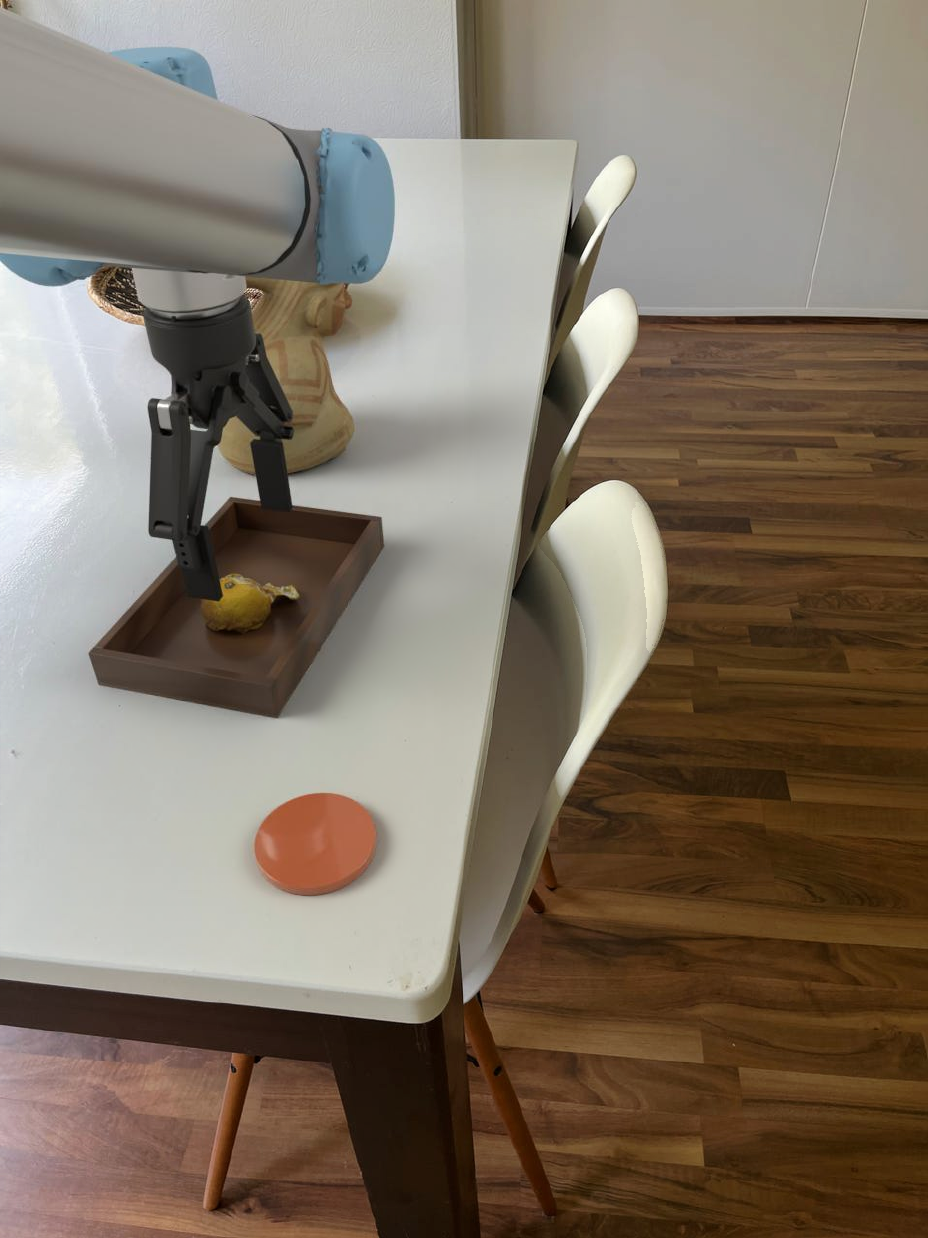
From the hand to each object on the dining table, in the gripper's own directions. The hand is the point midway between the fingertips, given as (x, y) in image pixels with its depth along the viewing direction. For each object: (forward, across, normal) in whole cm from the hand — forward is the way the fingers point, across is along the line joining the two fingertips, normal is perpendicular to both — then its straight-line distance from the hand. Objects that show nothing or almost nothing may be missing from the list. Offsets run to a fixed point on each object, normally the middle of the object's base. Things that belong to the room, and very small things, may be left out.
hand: (243, 550), depth 83 cm
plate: (+6, -23, -16) cm, 29 cm away
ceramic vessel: (+7, +28, +10) cm, 30 cm away
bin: (+6, 0, 0) cm, 6 cm away
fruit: (+6, 0, 0) cm, 6 cm away
